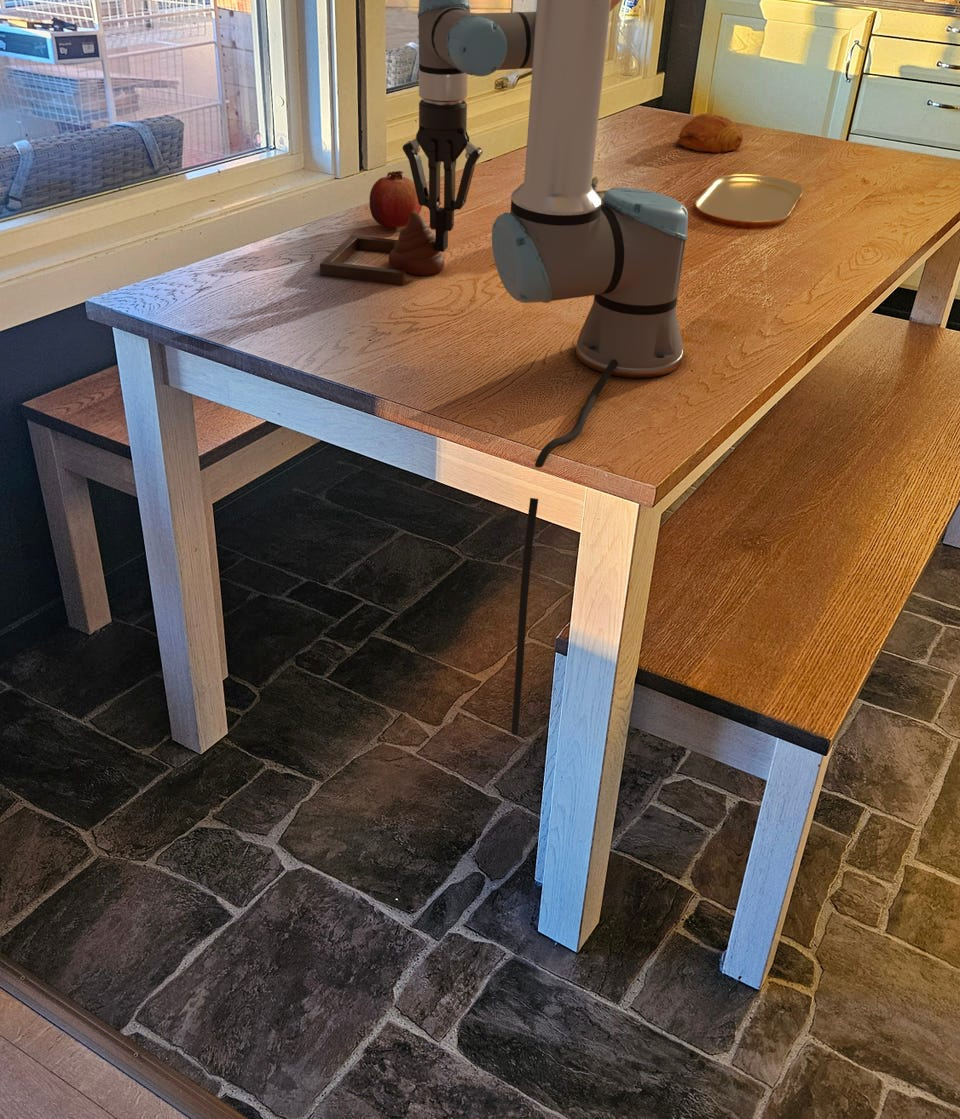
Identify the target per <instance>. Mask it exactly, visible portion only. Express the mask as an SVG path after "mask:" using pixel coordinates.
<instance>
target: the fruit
mask: <svg viewBox="0 0 960 1119" xmlns="http://www.w3.org/2000/svg"><path fill="white" fill-rule="evenodd" d="M404 173H405V172H404V171H401V170H398V171H388V173H387V174H386V176H382V177H380V178H379V179H378V180H376V181H375V182H374V184H373V185H372V187H371V189H370V192H369V211H370V214H371V217H372V218H373V219H374V221H375V222H376V223H377V224H379V225H380V226H381V227H385V228H403V227H404V228H405V227H406V226H407V222H408V220H409V217H410V212H416V213H417V214H419V215H420V213H421V211H422V207H423V206H421V205H420V204H419V202H418V198H417V194H416V189H415V185H414V180H411V179H410V178H408V177H407V176H406V177H405V176H403V174H404Z"/></svg>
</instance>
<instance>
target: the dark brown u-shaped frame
mask: <svg viewBox="0 0 960 1119" xmlns="http://www.w3.org/2000/svg"><path fill="white" fill-rule="evenodd" d="M397 240H398V239H392V238H383V237H376V236H367V235H357V234H351V235H350V236H349V237H348V238H347V239H345V240H344V241H343V242H342V243H341V244H340V245H339V246H337V248H335V249H334V250H333V251H332V252H331V253H330V254H329V255H327V257H325V258H324V259H323V260H322V261H321V262H320V263H319V274H320V276H323V277H324V276H325V277H331V278H341V279H349V280H357V281H364V282H373V283H374V282H375V283H383V284H389V285H398V286H404V285H405V284H406V282H407V271H406V270H397V269H394V268H386V267H385V268H384V267H376V266H367V265H360V264H352V263H344V262H346V260H348V259H349V258H350V257H351V256H352V255H353V254H354V253H355V252H356V251H357V250H361V251H369V252H377V253H379V252H380V253H387V254H390V252H391V251H392V250H393V249H394V245H395V242H396V241H397Z"/></svg>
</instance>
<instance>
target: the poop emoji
mask: <svg viewBox="0 0 960 1119" xmlns="http://www.w3.org/2000/svg"><path fill="white" fill-rule="evenodd" d="M430 230H431V229H430V227H428V226H427V223H426V221H425V219H424V218H423V217H422V215H420V213H419V214H417V213H416V212H410V217H409V220H408V222H407V226H404V228H403V227H402V229H401V230H400V231H399V234H398V238H397V239H396V240H397V241H396V242H395V245H394V249H393V250H392V251H391V252H390V253H388V264H389V266H390V268H391V269H394V270H403V271H406V273H409V274H412V275H414V276H415V275H416V276H431V275H435V274H438V273H440V272H441V271H442V270H443V269H444V266H445V259H444V256H443V254H442V252H440V251H435V232H434V233H433V232H431V231H430Z"/></svg>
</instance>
